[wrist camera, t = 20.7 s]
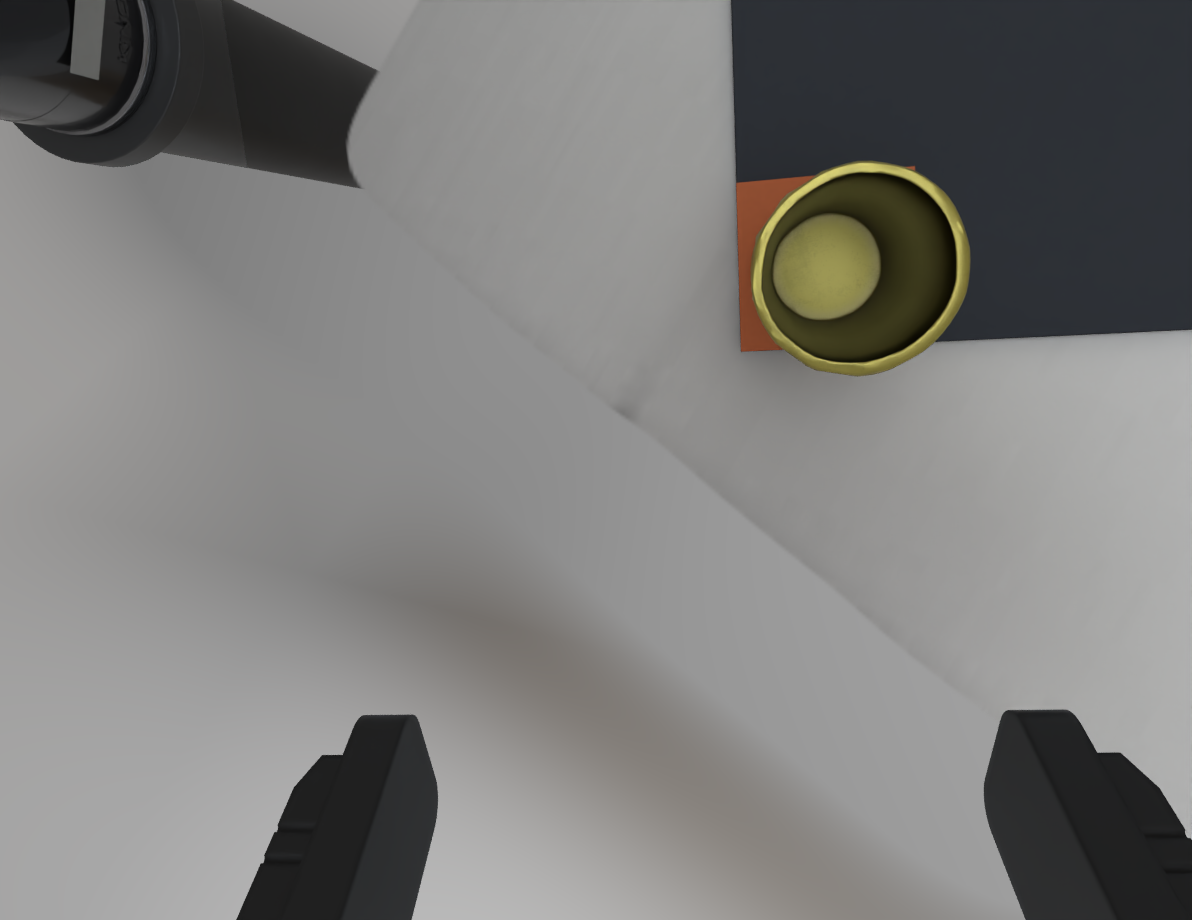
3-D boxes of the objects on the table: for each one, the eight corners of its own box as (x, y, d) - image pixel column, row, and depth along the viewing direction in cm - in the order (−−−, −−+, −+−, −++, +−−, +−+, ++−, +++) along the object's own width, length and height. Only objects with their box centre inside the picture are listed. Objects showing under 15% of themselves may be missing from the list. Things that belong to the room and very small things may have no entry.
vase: (720, 281, 34) (683, 293, 21) (818, 158, 32) (848, 83, 19) (831, 371, 34) (867, 442, 21) (936, 253, 32) (1052, 246, 19)
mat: (741, 349, 36) (741, 351, 35) (730, -52, 32) (729, -59, 31) (1205, 327, 31) (1215, 328, 31) (1251, -135, 28) (1264, -146, 27)
